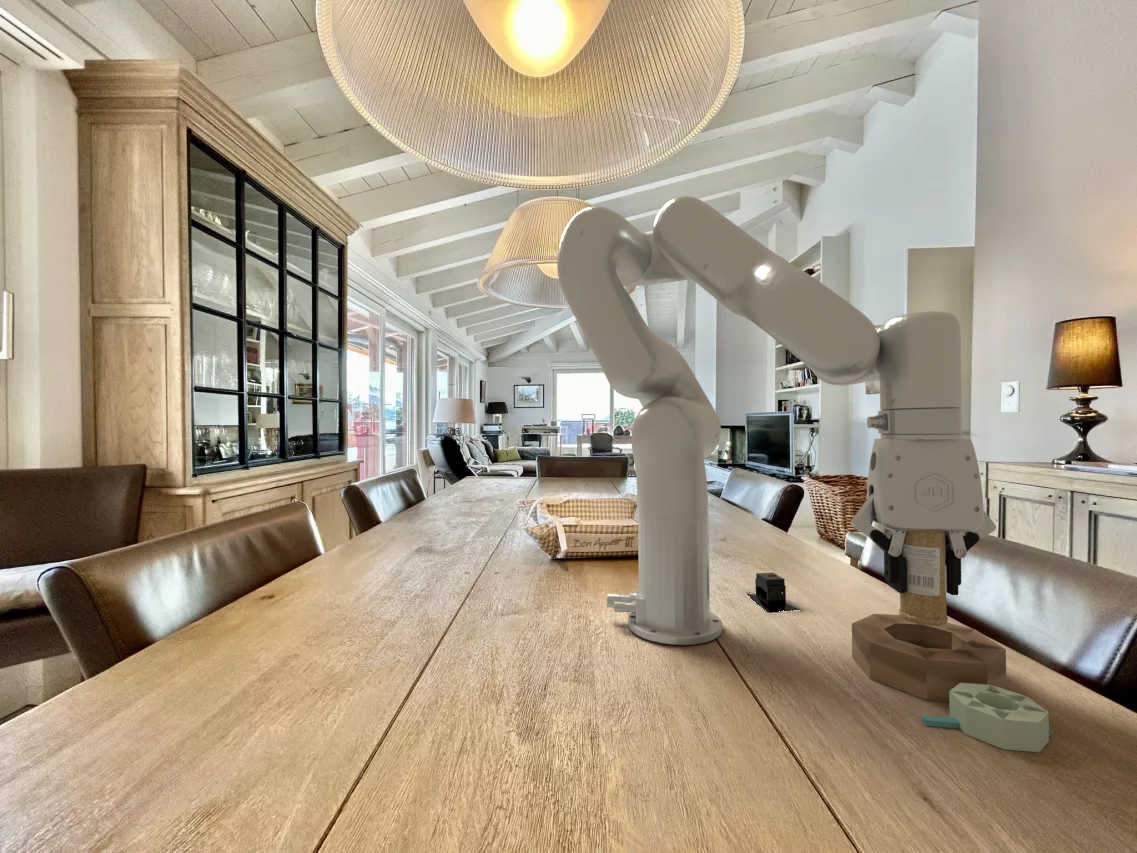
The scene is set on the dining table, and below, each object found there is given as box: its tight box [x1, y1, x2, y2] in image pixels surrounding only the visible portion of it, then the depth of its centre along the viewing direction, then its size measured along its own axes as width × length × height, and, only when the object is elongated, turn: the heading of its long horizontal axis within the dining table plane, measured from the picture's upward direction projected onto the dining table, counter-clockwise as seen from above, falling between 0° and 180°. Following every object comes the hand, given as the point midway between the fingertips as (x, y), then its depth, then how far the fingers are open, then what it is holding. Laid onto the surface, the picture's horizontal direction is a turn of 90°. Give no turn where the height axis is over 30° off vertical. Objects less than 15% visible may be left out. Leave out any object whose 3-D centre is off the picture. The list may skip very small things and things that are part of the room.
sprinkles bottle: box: [898, 531, 949, 626], centre depth 58 cm, size 5×5×14 cm
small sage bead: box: [949, 683, 1050, 753], centre depth 47 cm, size 6×6×2 cm
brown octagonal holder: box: [851, 613, 1007, 703], centre depth 58 cm, size 13×13×4 cm
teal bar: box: [920, 714, 1053, 737], centre depth 47 cm, size 10×1×1 cm, turn 80°
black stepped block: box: [747, 572, 801, 614], centre depth 82 cm, size 12×7×5 cm, turn 5°
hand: (922, 588), depth 58 cm, fingers closed on sprinkles bottle, 4 cm apart
